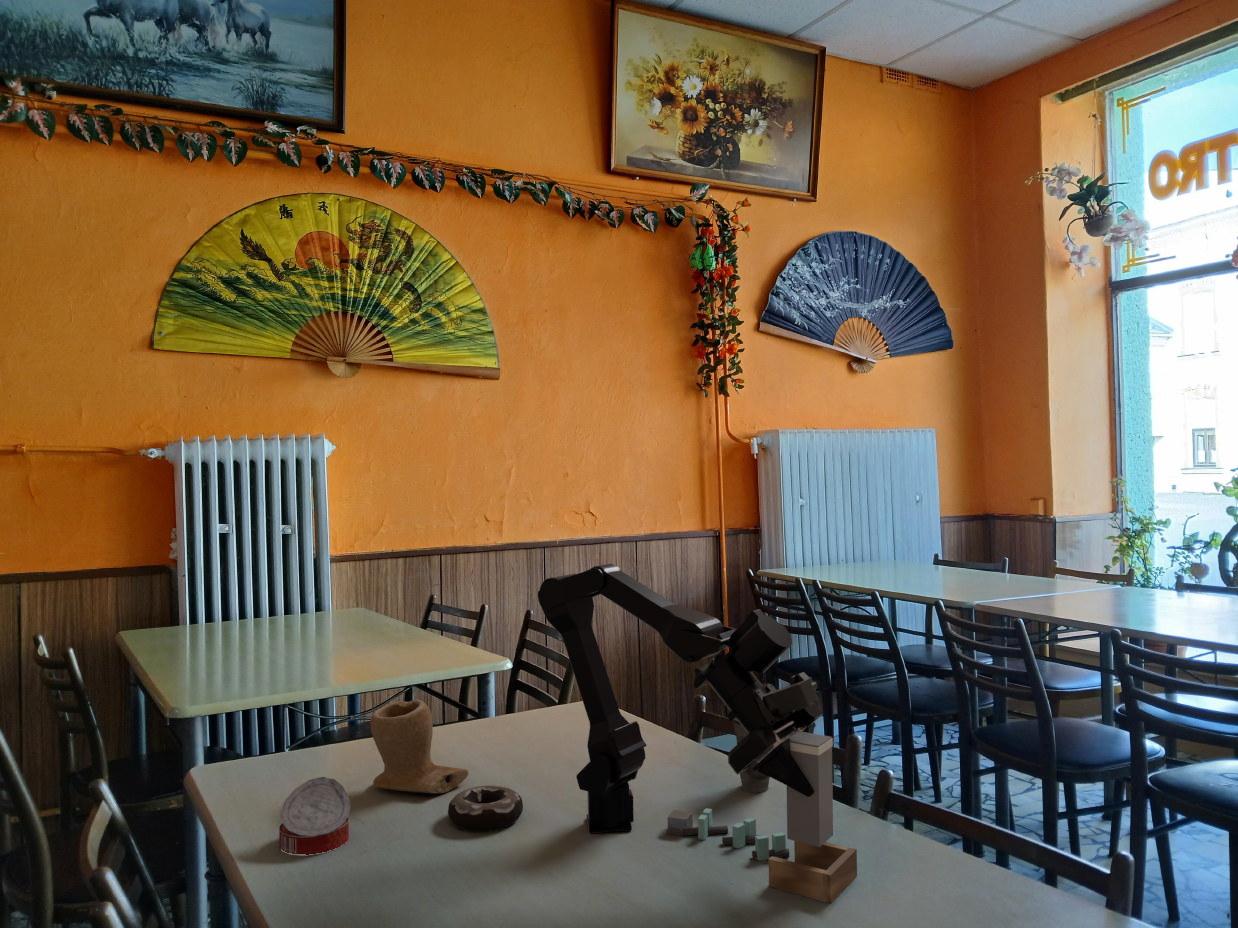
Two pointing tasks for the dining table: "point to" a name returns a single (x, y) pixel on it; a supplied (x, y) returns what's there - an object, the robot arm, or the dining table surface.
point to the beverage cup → (750, 768)
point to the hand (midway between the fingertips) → (819, 788)
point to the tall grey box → (813, 813)
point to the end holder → (815, 871)
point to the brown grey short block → (679, 822)
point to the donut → (485, 808)
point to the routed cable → (730, 839)
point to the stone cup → (410, 750)
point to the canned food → (315, 817)
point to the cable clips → (741, 832)
